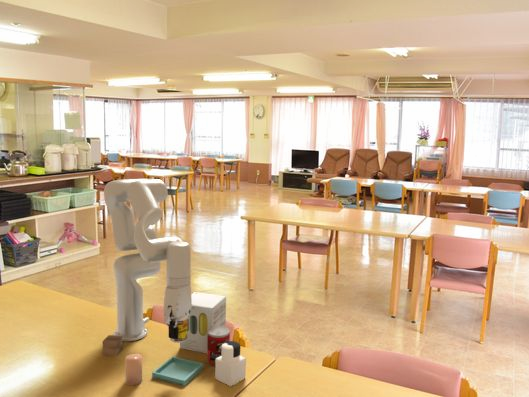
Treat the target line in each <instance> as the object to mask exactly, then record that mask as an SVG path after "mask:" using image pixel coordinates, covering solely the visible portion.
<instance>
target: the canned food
mask: <svg viewBox="0 0 529 397" xmlns="http://www.w3.org/2000/svg"><path fill="white" fill-rule="evenodd" d="M230 337H231V332H230V329H229V328H228V327H227V326H226V327H223V326H215V327H212V328H210V329H209V330H208V337H207V353H206V359H207V362H208V363H209V365H211V366H214V365H215V360H216V358H218V357H220V356H221V351H222V344H223V343H225V342H228V341H231V340H230V339H231V338H230Z"/></svg>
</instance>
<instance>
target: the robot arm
mask: <svg viewBox="0 0 529 397" xmlns="http://www.w3.org/2000/svg"><path fill="white" fill-rule="evenodd" d="M168 194H169V193H168V187H167V185H166V184H165V182H164V181H162V180H161V179H157V178H125V179H124V178H123V179H116V180H111V181H109V182H107V183H106V185H105V186H104V190H103V197H104V203H105V205H106V207H107V211H108V212H109V215H110V219H111V225H112V234H113V241H114V246H115V247H116V250H118V251H119V252H129V251H130V252H132V251H138V253H130V254H124V255H122V256H119V257H117V258H116V259H115V260H114V263H113V271H114V278H115V284H116V310H117V311H116V312H117V313H116V315H117V317H116V319H117V321H116V322H117V324H116V326H117V328H116V329H115V330H114V331H113V336H122V342H135V341H137V340H138V341H139V340H141V339H143V338H145V337H146V336H147V335H148V329H147V328H146V327H145V325H146V324H147V323H148V322H150V318H149V317H148V316H146V317H145V318H144V292H143V287H142V286H141V284H139V282H138V281H137V280H139V279H143V278H147V277H152V276H155V275H158V274H159V272H160V271H161V264H162V263H161V262H164V261H166V287H165V292H164V298H163V317H164V318H163V321H164V323H165V324H166V325H167V327H168V338H169V339H170V338H172V339H178V327H177V322H178V318H179V317H181V316H182V315H183V314H184V313H185V314H186V315H187V316H188V319H189V314H190V310H191V307H192V298H191V295H192V286H191V279H192V278H191V273H192V271H191V265H192V264H191V261H192V260H191V259H192V258H191V255H192V254H191V251H192V250H191V249H192V248H191V245H190V243H189V242H187V241H183V240H182V238H180V237H178V236H167V237H159V238H158V236H157V231H156V229H155V227H154V225H156V224H157V223H158V222H159V221H160V220H161V219H162V217H163V209H162V208H161V206H160V204H159V203H163V202H164V201H166V199H167V198H168ZM127 203H130V205H131V207H132V208H131V207H130V206H129V205H128V204H127ZM135 215H136V218H137V223H136V219H135ZM172 315H174V317H172ZM172 319H175V320H174V322H173V321H172ZM188 330H189V320H188V325H187V331H188Z"/></svg>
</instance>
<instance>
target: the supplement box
mask: <svg viewBox="0 0 529 397" xmlns="http://www.w3.org/2000/svg"><path fill="white" fill-rule="evenodd" d="M191 298H192V307H191V310H190V314H189V319H188V320H189V330H188V331H187V340H186V341H184V342H181V343H179V349H183V350H187V351H188V350H189V351H193V352H198V353H204V354H207V337H208V330H209V329H210V328H212V327H215V326H223V327H226V328H227V326H226V325H227V323H226V318H227V316H226V315H227V311H226V310H227V296H225V295H221V294H220V295H219V294H212V293H205V292H198V291H194V292H193V293H191Z"/></svg>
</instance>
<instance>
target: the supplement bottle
mask: <svg viewBox="0 0 529 397" xmlns="http://www.w3.org/2000/svg"><path fill="white" fill-rule="evenodd" d="M172 317H174V315H172ZM174 320H175V319H172V321H173V322H174ZM187 325H188V316H187V315H186V314H185V313H184V314H183V315H182V316H181V317H179V318H178V322H177V327H178V339H172V338H169V340H170V341H171V342H173V343H175V344H180V343H181V342H184V341H186V340H187Z"/></svg>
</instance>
